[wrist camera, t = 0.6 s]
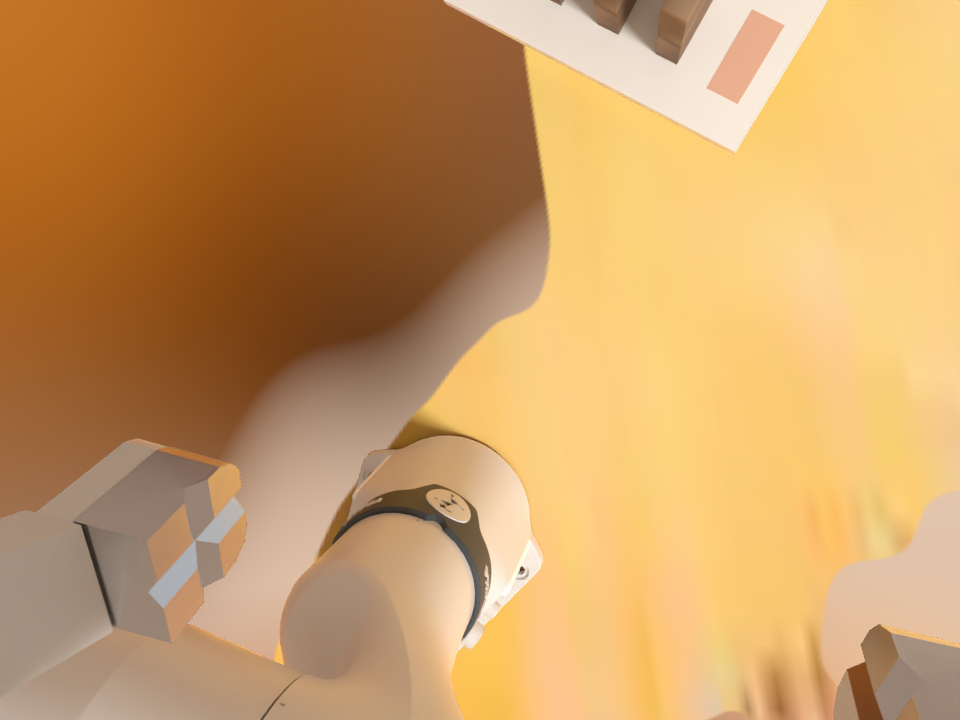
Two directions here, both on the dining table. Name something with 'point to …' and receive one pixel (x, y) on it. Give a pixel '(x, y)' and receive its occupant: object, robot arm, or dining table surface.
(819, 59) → the dining table surface
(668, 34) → the domino
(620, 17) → the domino
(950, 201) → the dining table surface
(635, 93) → the board
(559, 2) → the domino
